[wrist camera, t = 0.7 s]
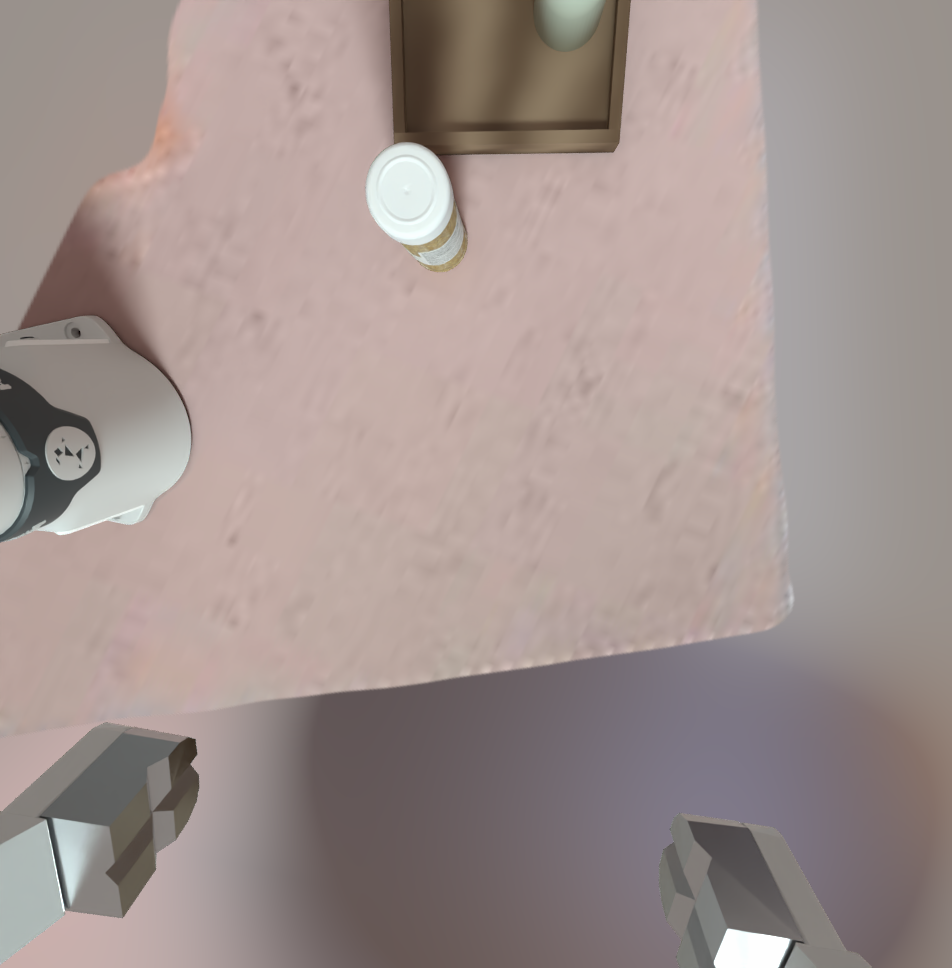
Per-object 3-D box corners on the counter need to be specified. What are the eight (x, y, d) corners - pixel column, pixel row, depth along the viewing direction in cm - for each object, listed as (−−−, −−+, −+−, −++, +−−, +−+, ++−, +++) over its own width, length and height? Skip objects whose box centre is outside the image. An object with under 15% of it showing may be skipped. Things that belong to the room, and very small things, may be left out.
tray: (399, 155, 36) (394, 145, 34) (392, -48, 32) (386, -69, 31) (613, 152, 35) (619, 142, 33) (629, -57, 32) (637, -80, 30)
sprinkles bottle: (402, 225, 37) (348, 162, 24) (455, 200, 36) (429, 122, 24) (425, 283, 38) (385, 252, 25) (477, 260, 38) (463, 216, 25)
